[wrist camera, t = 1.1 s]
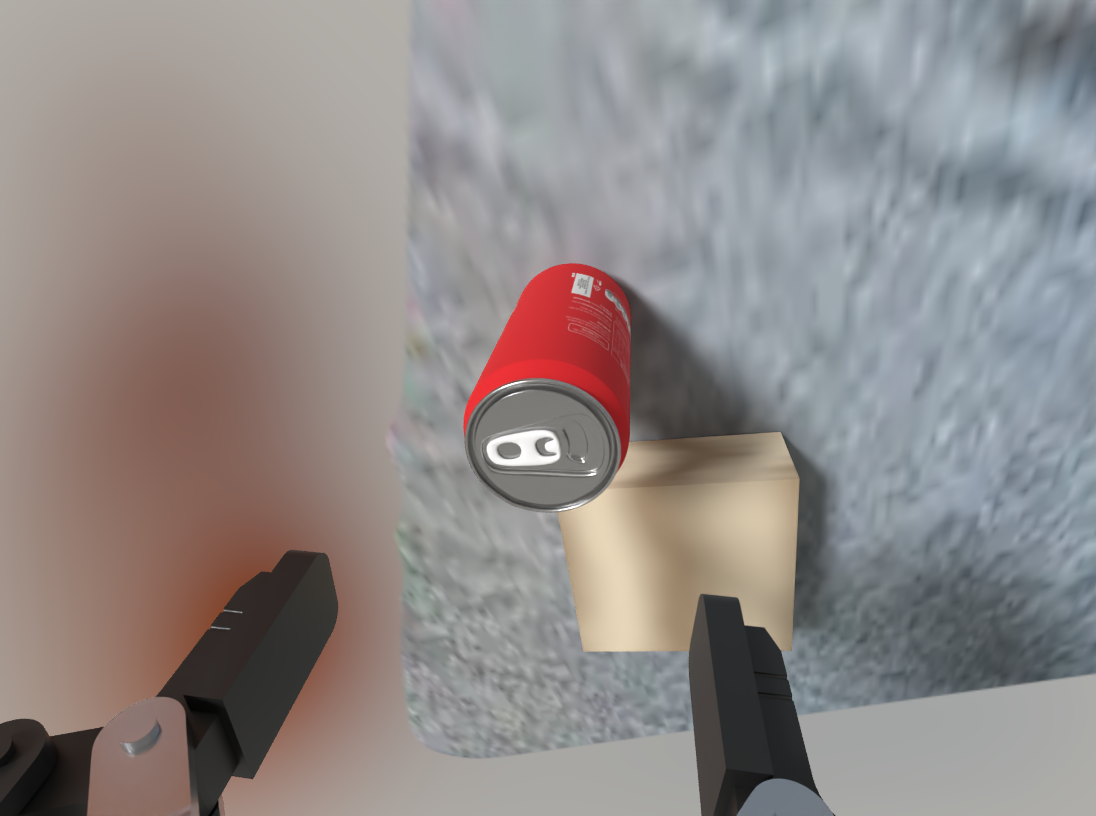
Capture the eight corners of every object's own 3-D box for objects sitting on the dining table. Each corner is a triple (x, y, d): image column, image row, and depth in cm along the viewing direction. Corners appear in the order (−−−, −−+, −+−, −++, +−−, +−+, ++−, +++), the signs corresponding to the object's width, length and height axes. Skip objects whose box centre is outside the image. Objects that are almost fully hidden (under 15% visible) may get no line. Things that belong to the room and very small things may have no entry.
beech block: (780, 431, 30) (799, 478, 27) (776, 593, 35) (791, 650, 32) (562, 446, 32) (554, 491, 29) (588, 597, 37) (583, 651, 34)
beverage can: (637, 354, 29) (640, 512, 19) (533, 368, 30) (480, 525, 20) (622, 247, 27) (615, 360, 16) (509, 266, 28) (435, 383, 17)
